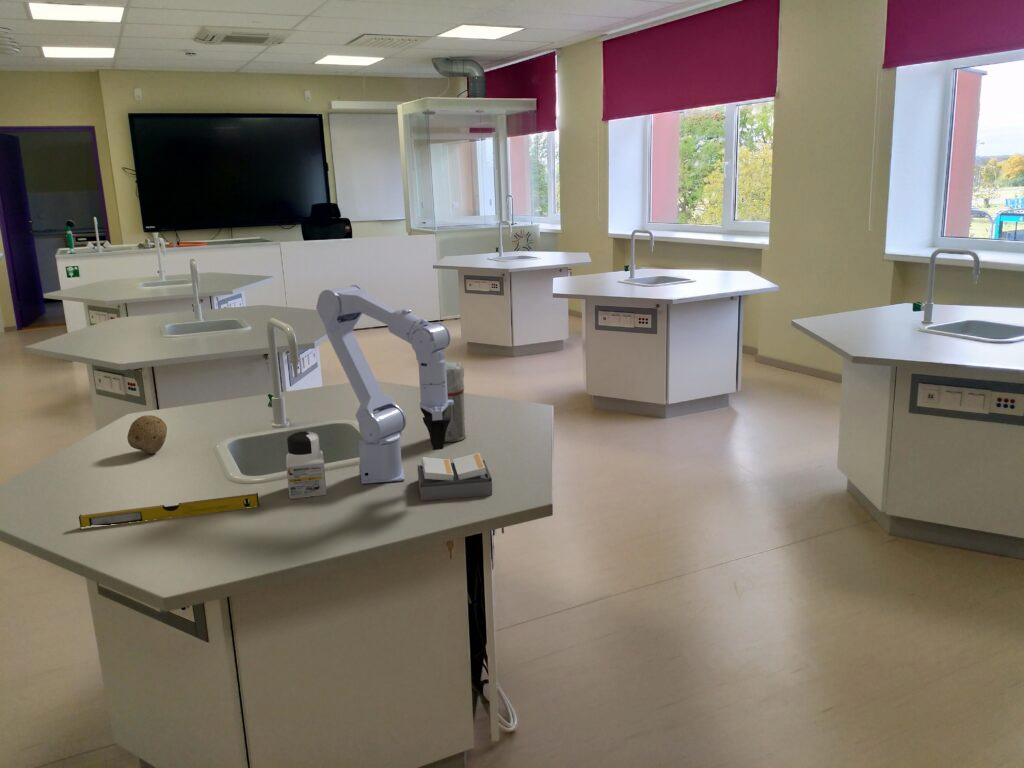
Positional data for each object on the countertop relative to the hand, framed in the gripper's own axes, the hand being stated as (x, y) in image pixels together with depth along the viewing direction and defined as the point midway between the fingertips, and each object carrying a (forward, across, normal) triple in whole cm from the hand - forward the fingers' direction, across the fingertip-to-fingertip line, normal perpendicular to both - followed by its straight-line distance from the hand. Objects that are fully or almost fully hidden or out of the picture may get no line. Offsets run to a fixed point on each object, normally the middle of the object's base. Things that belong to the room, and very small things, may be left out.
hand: (436, 443), depth 169 cm
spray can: (+10, +34, -6) cm, 36 cm away
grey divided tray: (+10, 0, -3) cm, 11 cm away
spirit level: (+10, -3, +54) cm, 55 cm away
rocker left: (+6, 0, 0) cm, 7 cm away
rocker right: (+7, 0, -7) cm, 10 cm away
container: (+10, +5, +28) cm, 30 cm away
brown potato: (+10, +39, +69) cm, 80 cm away
